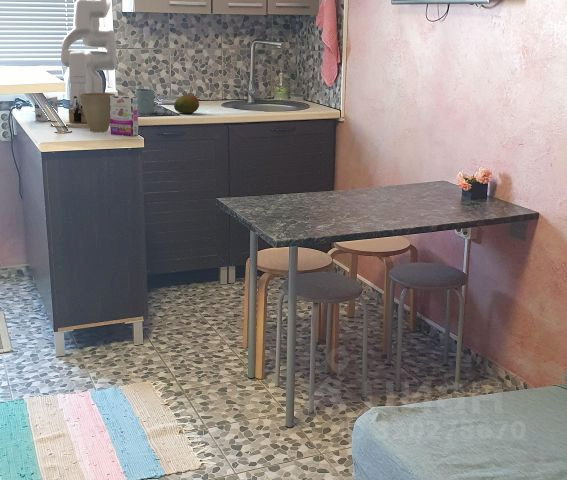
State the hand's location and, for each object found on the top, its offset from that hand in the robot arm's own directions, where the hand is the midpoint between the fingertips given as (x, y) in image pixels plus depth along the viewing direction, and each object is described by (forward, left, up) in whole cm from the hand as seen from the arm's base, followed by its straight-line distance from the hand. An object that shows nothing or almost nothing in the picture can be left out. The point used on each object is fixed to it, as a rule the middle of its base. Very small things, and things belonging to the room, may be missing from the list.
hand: (79, 120), depth 365 cm
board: (+1, -2, -2) cm, 3 cm away
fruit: (-61, +38, -2) cm, 72 cm away
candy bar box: (+23, +26, -2) cm, 35 cm away
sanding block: (0, 0, -1) cm, 1 cm away
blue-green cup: (-57, +17, -2) cm, 59 cm away
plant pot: (+15, +13, -2) cm, 20 cm away
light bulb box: (-14, -20, -2) cm, 25 cm away
